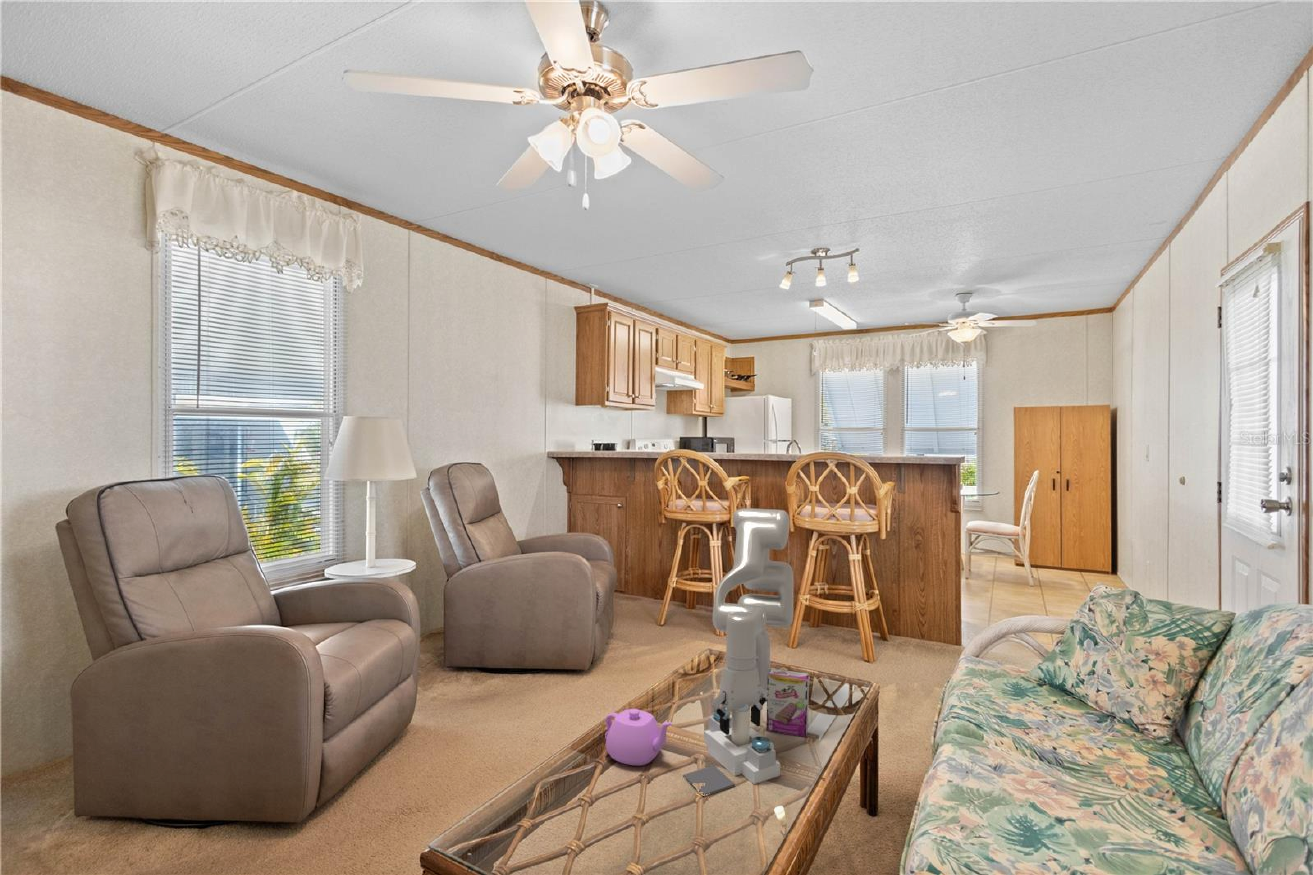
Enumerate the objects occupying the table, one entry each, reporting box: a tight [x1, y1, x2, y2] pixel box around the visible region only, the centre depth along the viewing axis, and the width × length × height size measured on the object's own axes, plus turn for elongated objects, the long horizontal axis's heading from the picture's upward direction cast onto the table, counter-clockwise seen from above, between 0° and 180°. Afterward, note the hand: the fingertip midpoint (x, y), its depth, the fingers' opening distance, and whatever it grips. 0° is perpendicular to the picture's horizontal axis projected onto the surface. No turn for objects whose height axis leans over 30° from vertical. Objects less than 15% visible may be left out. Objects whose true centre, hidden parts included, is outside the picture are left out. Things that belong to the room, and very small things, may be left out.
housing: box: [703, 715, 781, 785], centre depth 157 cm, size 22×12×6 cm, turn 28°
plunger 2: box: [752, 736, 771, 754], centre depth 150 cm, size 4×4×5 cm
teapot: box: [604, 708, 673, 767], centre depth 158 cm, size 20×13×12 cm, turn 62°
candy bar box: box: [766, 667, 810, 738], centre depth 171 cm, size 11×5×16 cm, turn 71°
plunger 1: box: [712, 708, 731, 723], centre depth 165 cm, size 4×4×5 cm
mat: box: [682, 764, 736, 795], centre depth 147 cm, size 9×9×1 cm
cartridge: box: [731, 704, 751, 747], centre depth 157 cm, size 5×5×15 cm
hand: (740, 728), depth 157 cm, fingers open, 9 cm apart
